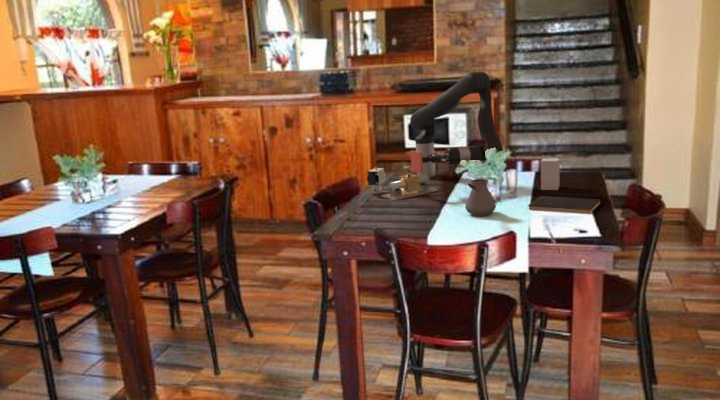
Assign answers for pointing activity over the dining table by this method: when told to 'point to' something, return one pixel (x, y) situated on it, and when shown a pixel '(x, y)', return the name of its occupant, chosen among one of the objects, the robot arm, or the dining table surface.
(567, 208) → the hardcover book
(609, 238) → the dining table surface
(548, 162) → the supplement box
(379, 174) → the pneumatic valve
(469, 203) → the coffee pot
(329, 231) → the dining table surface
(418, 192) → the valve body
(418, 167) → the lever
